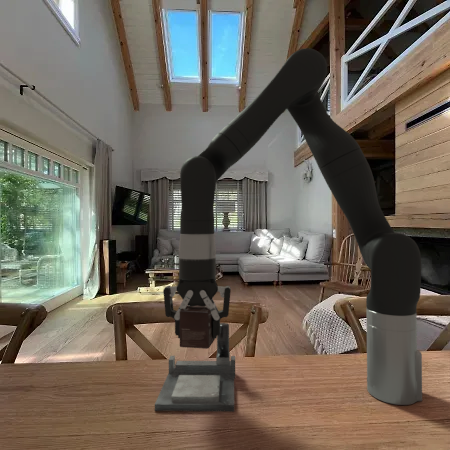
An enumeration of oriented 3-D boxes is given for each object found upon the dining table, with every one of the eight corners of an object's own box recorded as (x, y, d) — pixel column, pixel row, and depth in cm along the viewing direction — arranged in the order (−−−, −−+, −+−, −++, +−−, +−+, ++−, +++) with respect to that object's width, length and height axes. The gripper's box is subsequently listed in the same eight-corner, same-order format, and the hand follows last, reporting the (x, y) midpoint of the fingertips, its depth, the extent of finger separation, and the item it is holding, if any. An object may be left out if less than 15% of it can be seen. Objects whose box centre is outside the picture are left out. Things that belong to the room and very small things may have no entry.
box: (208, 349, 63) (208, 312, 63) (178, 347, 64) (178, 310, 64) (215, 339, 69) (215, 304, 69) (188, 337, 70) (188, 303, 70)
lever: (229, 359, 77) (229, 322, 77) (229, 364, 73) (229, 326, 74) (217, 359, 77) (216, 322, 77) (216, 364, 73) (216, 326, 74)
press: (235, 373, 76) (235, 355, 76) (235, 411, 60) (235, 389, 60) (170, 372, 77) (170, 355, 77) (154, 410, 61) (154, 388, 61)
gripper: (232, 254, 70) (232, 331, 70) (166, 254, 70) (166, 331, 70) (232, 257, 63) (232, 344, 62) (158, 257, 63) (158, 343, 63)
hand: (197, 337), depth 66 cm, fingers closed on box, 6 cm apart
